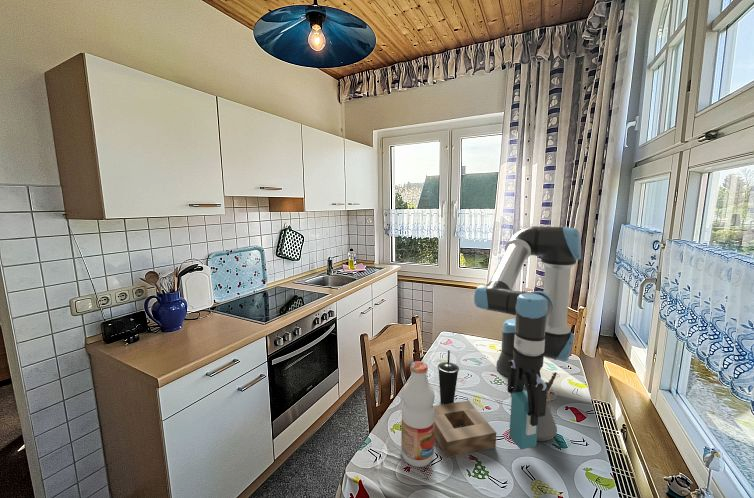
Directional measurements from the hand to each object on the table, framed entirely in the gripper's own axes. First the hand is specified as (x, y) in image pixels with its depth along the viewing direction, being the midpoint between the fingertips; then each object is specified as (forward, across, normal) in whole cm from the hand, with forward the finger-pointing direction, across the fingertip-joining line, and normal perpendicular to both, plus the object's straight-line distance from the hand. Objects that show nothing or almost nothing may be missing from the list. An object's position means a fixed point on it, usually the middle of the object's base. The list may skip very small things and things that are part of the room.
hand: (523, 426), depth 89 cm
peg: (+5, 0, 0) cm, 5 cm away
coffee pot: (+10, -10, +16) cm, 21 cm away
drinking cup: (+10, -29, -9) cm, 32 cm away
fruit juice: (+10, -8, -29) cm, 32 cm away
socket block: (+10, -13, -13) cm, 21 cm away
